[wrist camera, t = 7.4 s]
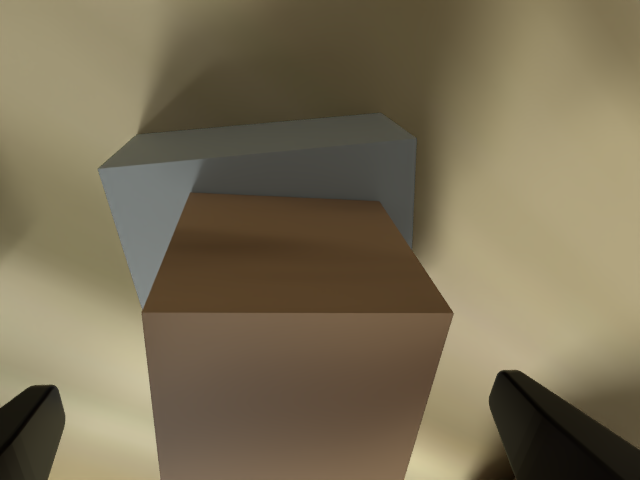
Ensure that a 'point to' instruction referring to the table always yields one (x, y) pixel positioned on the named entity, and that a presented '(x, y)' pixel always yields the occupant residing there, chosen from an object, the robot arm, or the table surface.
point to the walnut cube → (290, 341)
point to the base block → (254, 175)
